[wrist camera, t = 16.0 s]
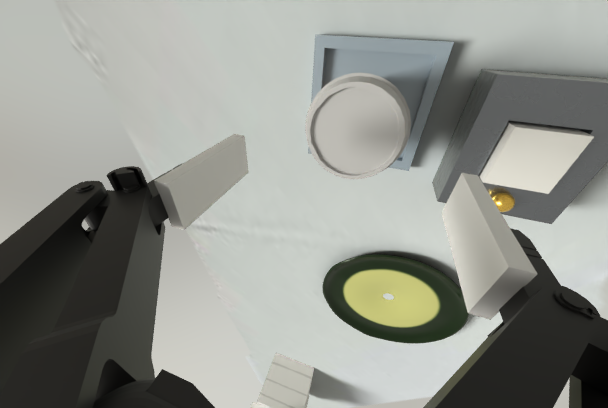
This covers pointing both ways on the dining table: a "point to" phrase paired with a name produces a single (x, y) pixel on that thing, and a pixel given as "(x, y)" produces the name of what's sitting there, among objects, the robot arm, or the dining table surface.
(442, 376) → the dining table surface
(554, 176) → the button
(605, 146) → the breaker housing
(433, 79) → the tray
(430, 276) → the plate
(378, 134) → the disposable coffee cup
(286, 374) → the pizza boxes
